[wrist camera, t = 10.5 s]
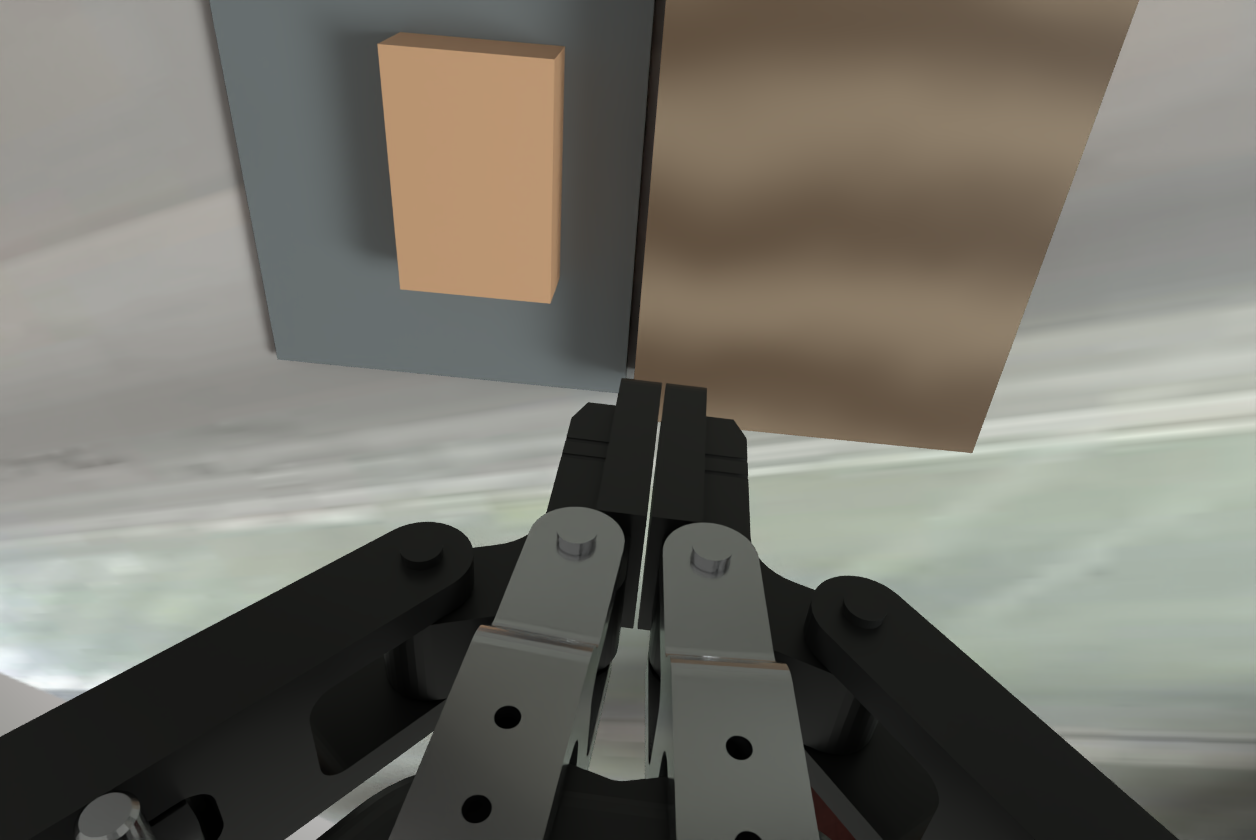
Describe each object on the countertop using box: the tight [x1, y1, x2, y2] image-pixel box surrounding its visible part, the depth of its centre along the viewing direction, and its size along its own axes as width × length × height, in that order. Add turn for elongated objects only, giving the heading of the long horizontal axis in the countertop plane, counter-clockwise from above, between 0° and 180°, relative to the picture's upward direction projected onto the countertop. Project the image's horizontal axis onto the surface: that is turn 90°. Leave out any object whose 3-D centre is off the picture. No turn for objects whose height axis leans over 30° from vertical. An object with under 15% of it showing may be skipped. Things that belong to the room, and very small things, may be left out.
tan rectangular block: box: [377, 32, 565, 304], centre depth 31 cm, size 9×6×2 cm, turn 176°
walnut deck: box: [634, 0, 1139, 453], centre depth 31 cm, size 18×14×4 cm
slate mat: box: [209, 0, 655, 393], centre depth 33 cm, size 20×16×1 cm
